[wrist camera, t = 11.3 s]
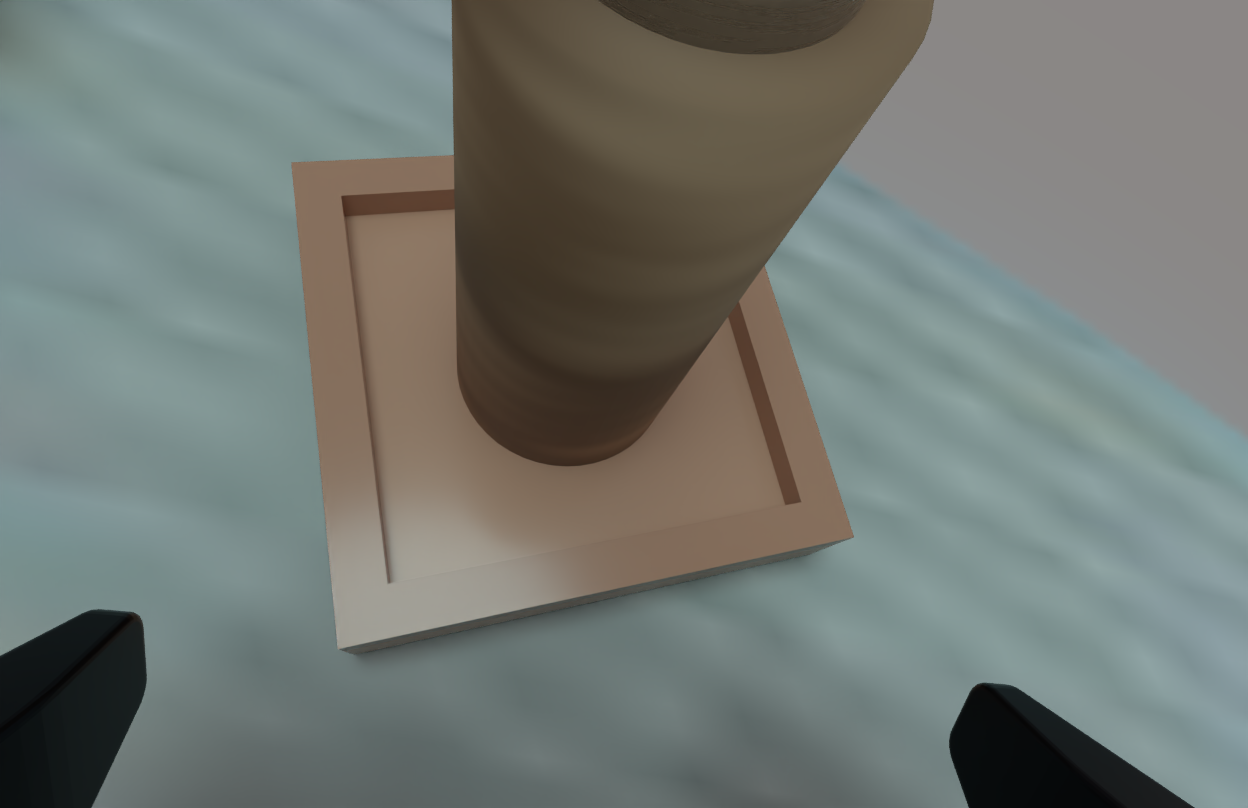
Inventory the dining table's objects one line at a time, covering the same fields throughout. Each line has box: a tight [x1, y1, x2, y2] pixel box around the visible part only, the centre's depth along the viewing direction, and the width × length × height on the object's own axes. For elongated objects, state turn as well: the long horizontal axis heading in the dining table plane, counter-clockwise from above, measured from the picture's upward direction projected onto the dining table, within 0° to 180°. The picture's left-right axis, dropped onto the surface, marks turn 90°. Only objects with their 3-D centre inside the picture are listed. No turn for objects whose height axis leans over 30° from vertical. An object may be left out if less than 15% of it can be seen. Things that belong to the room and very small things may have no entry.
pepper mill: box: [452, 0, 934, 466], centre depth 11 cm, size 5×5×13 cm
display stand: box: [291, 155, 854, 655], centre depth 18 cm, size 11×11×2 cm
